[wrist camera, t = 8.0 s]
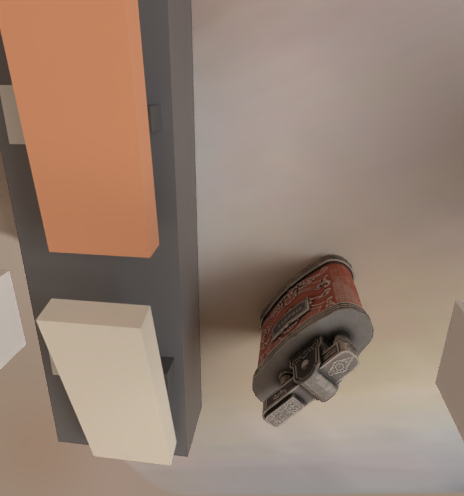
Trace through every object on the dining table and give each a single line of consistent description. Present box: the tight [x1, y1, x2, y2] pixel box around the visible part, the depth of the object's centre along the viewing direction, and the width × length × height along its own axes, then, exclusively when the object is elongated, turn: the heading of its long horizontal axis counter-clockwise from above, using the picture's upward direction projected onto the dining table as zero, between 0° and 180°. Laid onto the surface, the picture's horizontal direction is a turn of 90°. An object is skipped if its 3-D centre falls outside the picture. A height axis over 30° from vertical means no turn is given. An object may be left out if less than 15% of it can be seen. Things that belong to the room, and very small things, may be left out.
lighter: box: [253, 255, 374, 427], centre depth 24 cm, size 8×3×10 cm, turn 139°
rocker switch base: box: [0, 0, 202, 457], centre depth 22 cm, size 50×10×7 cm, turn 0°
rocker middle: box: [0, 0, 159, 258], centre depth 18 cm, size 13×5×2 cm, turn 0°
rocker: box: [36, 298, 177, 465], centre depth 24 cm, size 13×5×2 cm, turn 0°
